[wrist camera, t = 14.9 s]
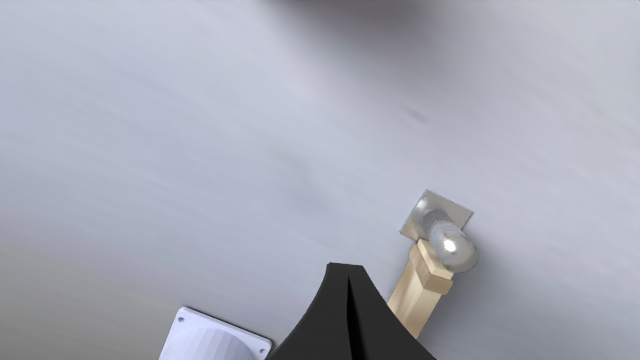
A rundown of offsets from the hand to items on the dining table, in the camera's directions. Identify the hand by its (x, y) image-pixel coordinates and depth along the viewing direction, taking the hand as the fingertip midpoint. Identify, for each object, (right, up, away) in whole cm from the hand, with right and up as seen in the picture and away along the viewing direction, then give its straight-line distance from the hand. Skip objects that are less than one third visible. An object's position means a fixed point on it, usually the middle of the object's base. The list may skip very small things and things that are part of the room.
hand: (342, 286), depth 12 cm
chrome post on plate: (+7, +1, +10) cm, 12 cm away
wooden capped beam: (+5, -4, +11) cm, 13 cm away
